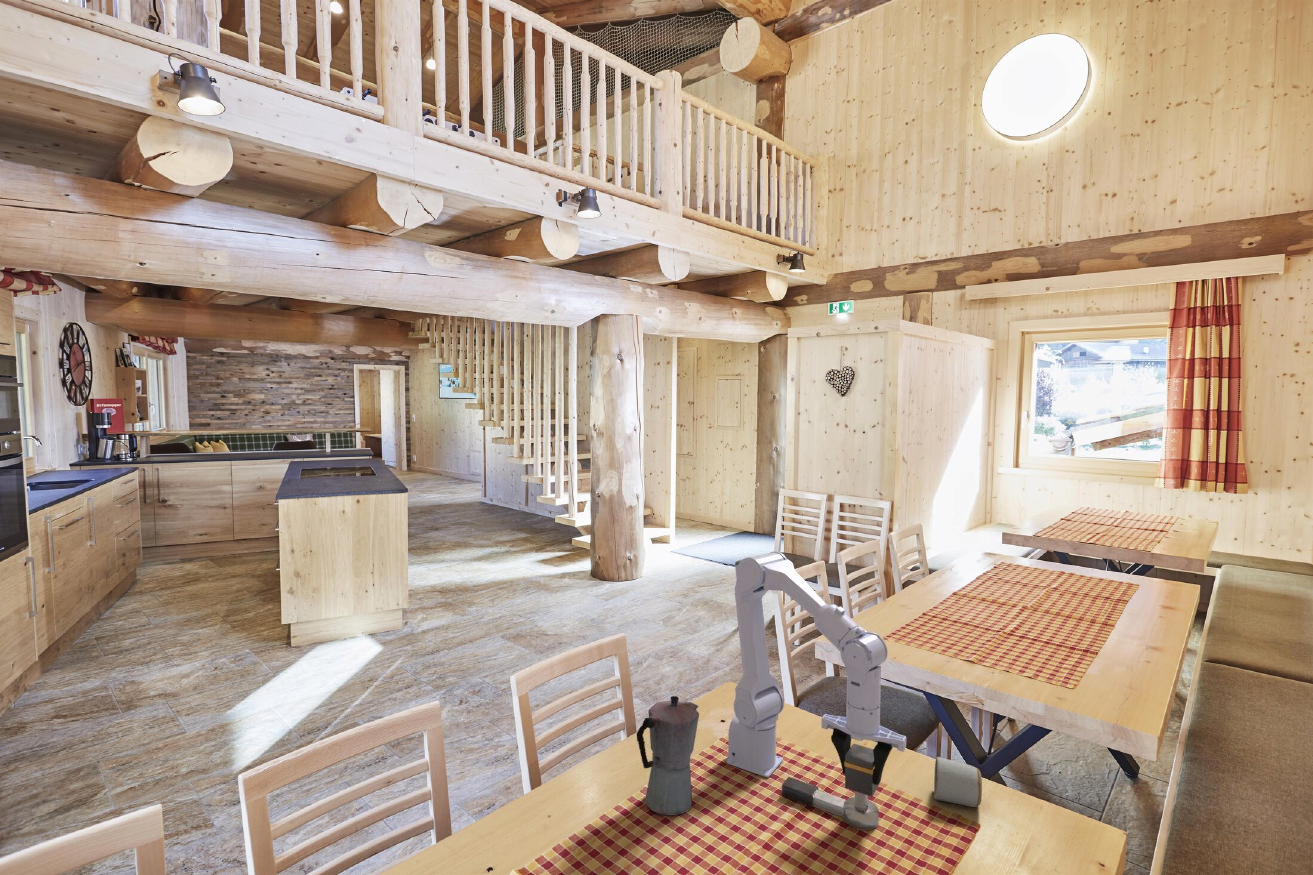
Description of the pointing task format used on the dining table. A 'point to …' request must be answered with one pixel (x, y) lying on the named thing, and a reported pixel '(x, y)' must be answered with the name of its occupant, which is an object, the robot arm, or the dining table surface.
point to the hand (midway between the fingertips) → (861, 776)
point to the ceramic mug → (957, 783)
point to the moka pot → (669, 755)
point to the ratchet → (834, 803)
